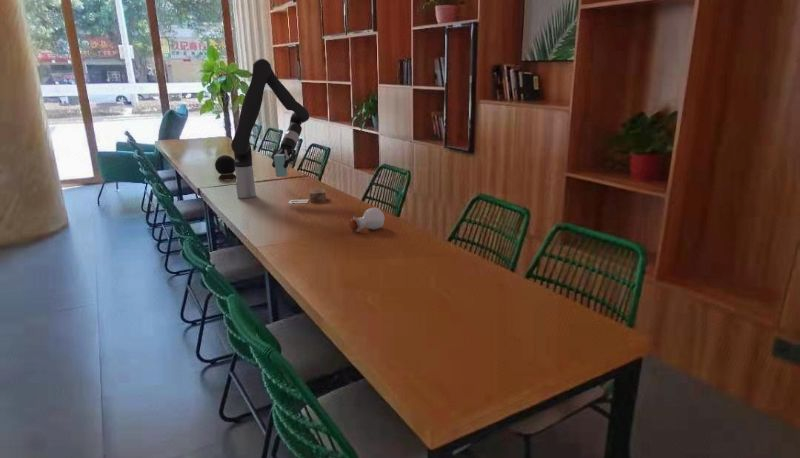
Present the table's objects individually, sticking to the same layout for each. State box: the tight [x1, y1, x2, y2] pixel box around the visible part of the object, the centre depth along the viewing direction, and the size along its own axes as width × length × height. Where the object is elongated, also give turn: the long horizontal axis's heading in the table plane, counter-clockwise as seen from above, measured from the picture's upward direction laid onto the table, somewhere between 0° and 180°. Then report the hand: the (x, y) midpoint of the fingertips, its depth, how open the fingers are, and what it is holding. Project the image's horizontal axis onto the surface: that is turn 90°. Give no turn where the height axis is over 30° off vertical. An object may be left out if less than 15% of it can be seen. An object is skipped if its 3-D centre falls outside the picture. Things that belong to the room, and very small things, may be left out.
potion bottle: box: [348, 207, 385, 234], centre depth 221 cm, size 9×10×15 cm
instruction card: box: [287, 198, 310, 205], centre depth 273 cm, size 10×7×1 cm
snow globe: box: [214, 154, 236, 181], centre depth 337 cm, size 13×13×15 cm
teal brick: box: [274, 154, 288, 178], centre depth 271 cm, size 5×5×11 cm
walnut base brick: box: [309, 188, 327, 203], centre depth 275 cm, size 8×8×5 cm
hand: (279, 167), depth 270 cm, fingers closed on teal brick, 6 cm apart
